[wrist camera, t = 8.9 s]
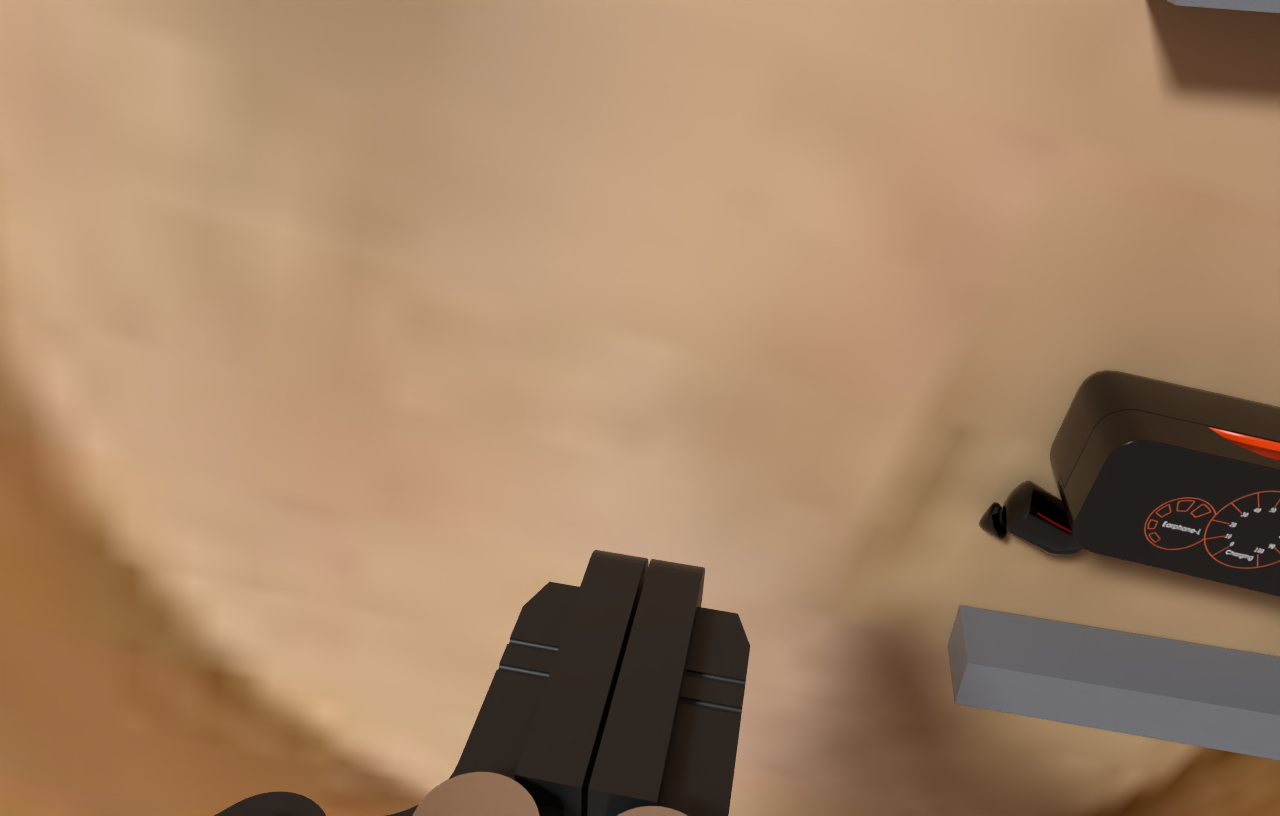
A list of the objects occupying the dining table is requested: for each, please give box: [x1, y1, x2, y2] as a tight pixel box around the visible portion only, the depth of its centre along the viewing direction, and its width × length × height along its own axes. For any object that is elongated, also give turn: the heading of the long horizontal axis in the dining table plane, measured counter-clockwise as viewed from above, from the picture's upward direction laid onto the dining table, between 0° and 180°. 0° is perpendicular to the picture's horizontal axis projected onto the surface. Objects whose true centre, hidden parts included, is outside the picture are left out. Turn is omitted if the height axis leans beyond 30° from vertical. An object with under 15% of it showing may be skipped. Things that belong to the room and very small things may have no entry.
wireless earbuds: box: [979, 371, 1280, 596], centre depth 20 cm, size 5×7×3 cm, turn 81°
